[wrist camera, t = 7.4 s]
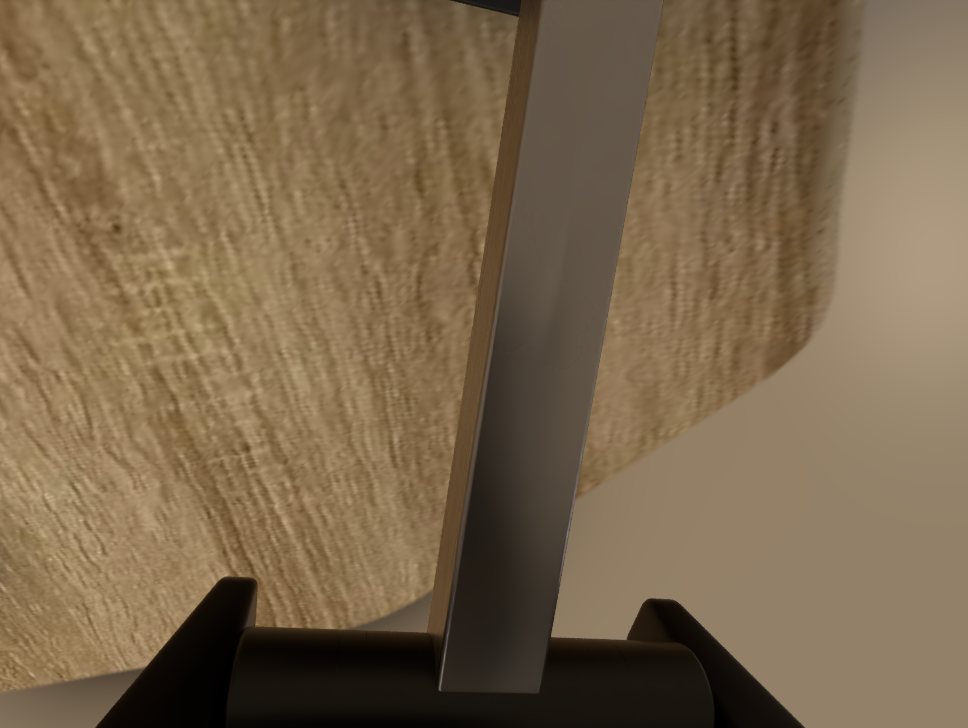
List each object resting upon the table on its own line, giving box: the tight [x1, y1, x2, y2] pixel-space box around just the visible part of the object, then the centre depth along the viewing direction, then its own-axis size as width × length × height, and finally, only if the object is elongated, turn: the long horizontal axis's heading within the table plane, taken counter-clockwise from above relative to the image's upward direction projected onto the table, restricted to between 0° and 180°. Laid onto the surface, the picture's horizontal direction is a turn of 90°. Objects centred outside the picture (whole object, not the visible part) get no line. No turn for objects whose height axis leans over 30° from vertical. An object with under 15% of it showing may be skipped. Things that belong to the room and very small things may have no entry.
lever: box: [221, 0, 716, 728], centre depth 6 cm, size 14×5×2 cm, turn 168°
